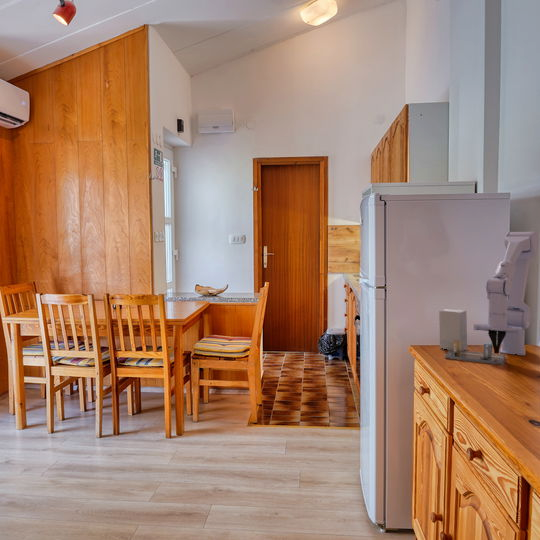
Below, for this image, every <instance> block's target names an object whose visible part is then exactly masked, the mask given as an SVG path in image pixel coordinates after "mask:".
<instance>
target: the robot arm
mask: <svg viewBox="0 0 540 540" xmlns="http://www.w3.org/2000/svg"><path fill="white" fill-rule="evenodd" d="M503 242H504V246H505V249H506V251H505V253H504V256H503V260H502V261H500V262H498V264H497V266H496V269H495V271H494V273H493V275H492V277H490V278H488V279H487V281H486V285H485V288H486V291H485V292H486V293H487V297H486V298H487V300H488V314H487V315H488V316H487V317H488V318H487V323H486V324H485V323H483V324H482V323H474V324H473V331H484V332H487V333H488V336H489V338H490V341H491V343H492V349H493V354H500V353H501V354H505V355H507V354H509V355H515V354H517V355H516V356H526V348H525V337H526V330H527V329H528V328H529V327H530V325H531V322H532V315H531V313H532V310H531V307H530V306H529V305H527V303H525V302H524V301H525V295H526V289H527V281H528V276H529V271H530V270H529V269H530V264H531V259H532V258H534V257H536V255H537V253H538V247H539V236H538V233H537V232H536V231H507V232H506V234H505V235H504V241H503Z"/></svg>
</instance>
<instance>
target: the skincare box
mask: <svg viewBox="0 0 540 540" xmlns="http://www.w3.org/2000/svg"><path fill="white" fill-rule="evenodd" d="M438 313H439V316H438V317H439V349H440V348H443V349H442V350H444V349H447V350H446V351H449V350H450V349H453V341H454V340H457V341H462V346H461V350H465V351H468V350H467V349H468V331H467V330H468V329H467V327H468V326H467V321H468V320H467V319H468V318H467V310H464V309H451V308H445V309H442V310H439V311H438Z"/></svg>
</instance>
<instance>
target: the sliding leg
mask: <svg viewBox="0 0 540 540" xmlns="http://www.w3.org/2000/svg"><path fill="white" fill-rule="evenodd" d="M482 353H483V355H484V356H485V357H488V356H491V355H492V354H493V344H492V342H489V341H488V342H487V341H485V342H484V343H483V352H482Z"/></svg>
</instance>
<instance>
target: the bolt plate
mask: <svg viewBox="0 0 540 540" xmlns="http://www.w3.org/2000/svg"><path fill="white" fill-rule="evenodd" d="M461 346H462V341H457V340H454V341H453V349H450V350H447V352H446V354H445V356H444V358H450V359H449V360H454V359H459V360H458V361H462V360H464V361H463V362H470V361H471V363H479V362H481V363H480V364H487V363H491V364H490V365H496V364H500V365H499V366H505V365H504V364H505V360H506V354H500V353H499V354H496V353H492V355H491V356H488V357H485V356H484V355H483V353H484V352H480V351H474V350H473V351H472V350H465V351H464V350H461Z"/></svg>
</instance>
